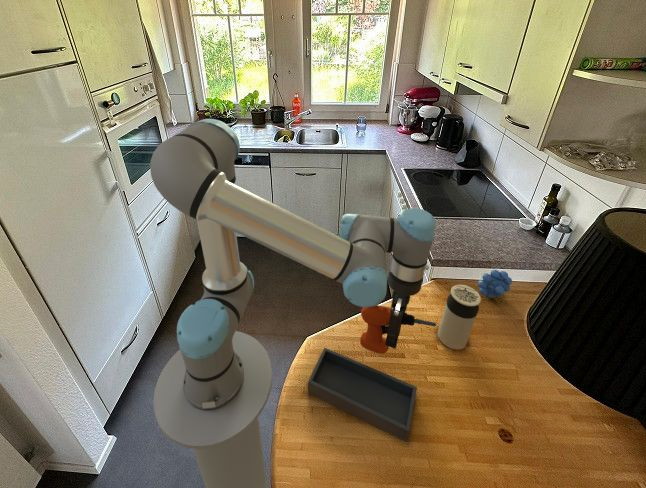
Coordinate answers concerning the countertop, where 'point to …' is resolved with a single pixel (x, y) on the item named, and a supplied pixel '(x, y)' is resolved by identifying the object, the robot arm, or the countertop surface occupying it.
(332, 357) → the tray
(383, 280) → the robot arm
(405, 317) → the toy drill
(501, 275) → the grapes
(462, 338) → the travel mug
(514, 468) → the countertop surface
